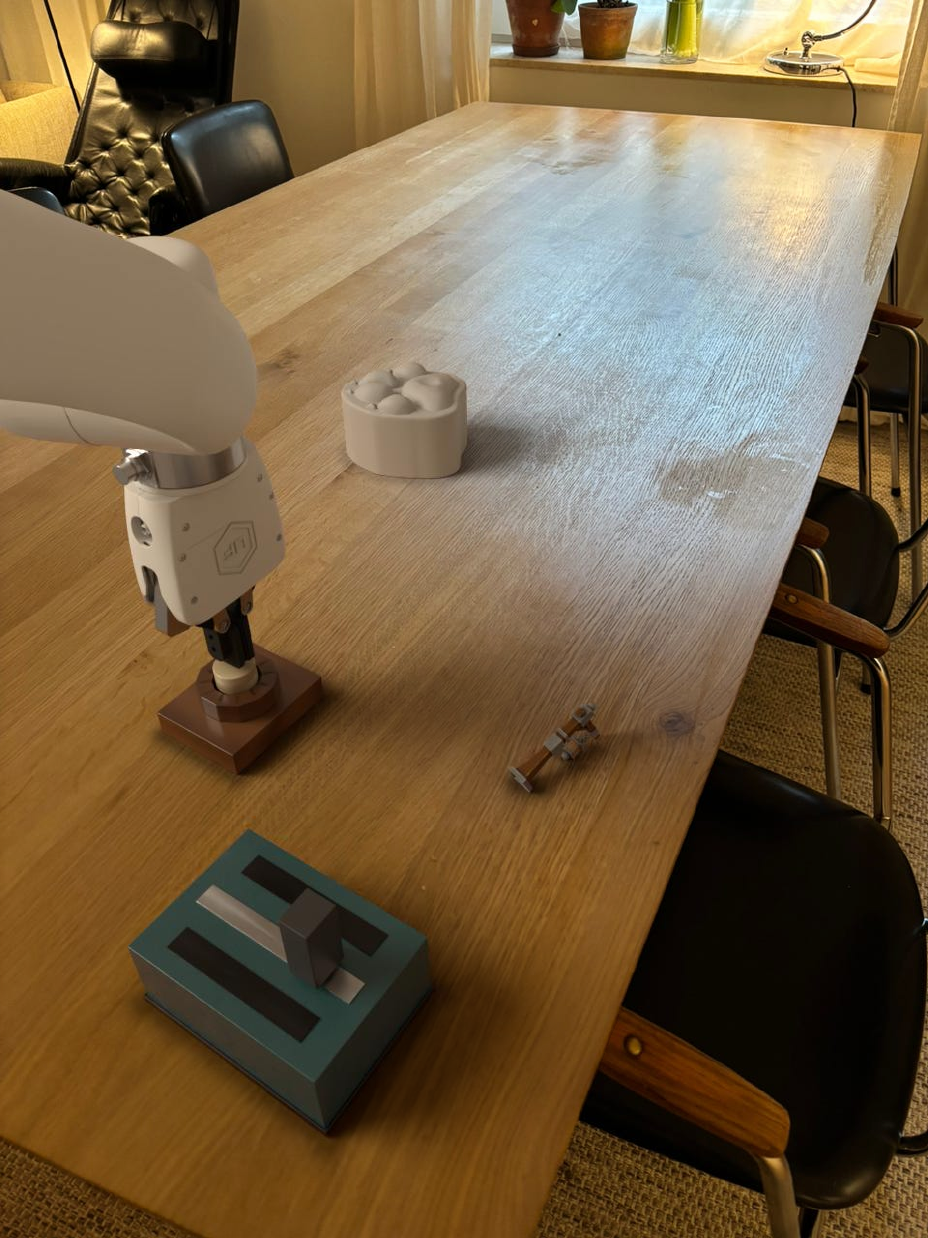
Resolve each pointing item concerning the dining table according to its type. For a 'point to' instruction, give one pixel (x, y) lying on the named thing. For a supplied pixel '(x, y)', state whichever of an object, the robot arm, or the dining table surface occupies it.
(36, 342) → the robot arm
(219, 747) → the control block
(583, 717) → the wooden post with brackets
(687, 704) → the dining table surface
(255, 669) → the button
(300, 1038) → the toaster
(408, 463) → the lumpy-topped squat cylinder
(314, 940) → the slider
